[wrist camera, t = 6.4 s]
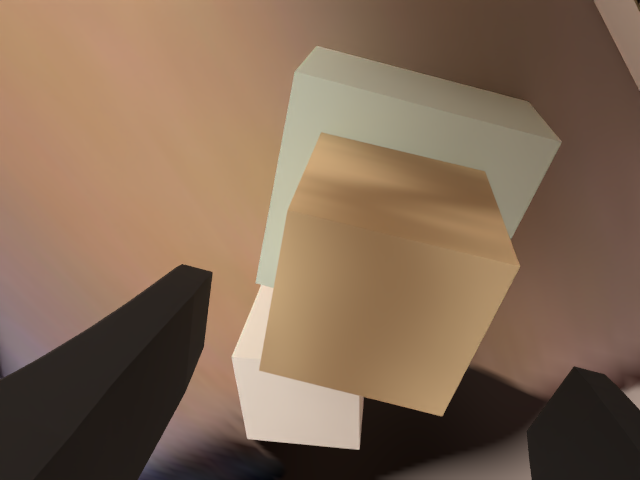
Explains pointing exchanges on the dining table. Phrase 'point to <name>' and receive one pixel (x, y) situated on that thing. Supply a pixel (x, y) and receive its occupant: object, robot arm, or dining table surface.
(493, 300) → the oak cube
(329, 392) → the cream cube
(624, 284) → the dining table surface
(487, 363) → the dining table surface
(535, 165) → the sage block
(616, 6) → the gable box
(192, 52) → the dining table surface
